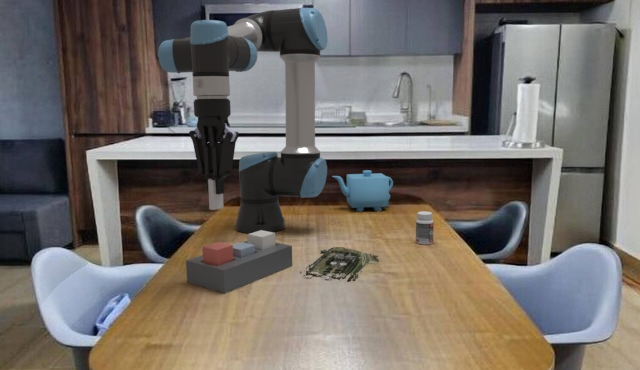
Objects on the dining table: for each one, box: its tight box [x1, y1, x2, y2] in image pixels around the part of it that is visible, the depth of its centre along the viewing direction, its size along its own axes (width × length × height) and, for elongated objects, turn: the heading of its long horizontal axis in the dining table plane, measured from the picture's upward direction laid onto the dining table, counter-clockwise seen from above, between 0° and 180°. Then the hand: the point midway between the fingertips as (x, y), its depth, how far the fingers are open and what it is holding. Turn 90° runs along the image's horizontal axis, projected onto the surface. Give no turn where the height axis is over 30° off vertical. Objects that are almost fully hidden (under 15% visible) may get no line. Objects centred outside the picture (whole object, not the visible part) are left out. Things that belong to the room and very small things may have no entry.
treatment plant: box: [297, 246, 380, 282], centre depth 129 cm, size 25×18×4 cm
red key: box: [202, 241, 233, 266], centre depth 117 cm, size 5×5×4 cm
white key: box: [247, 230, 277, 250], centre depth 128 cm, size 5×5×4 cm
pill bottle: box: [415, 211, 435, 246], centre depth 146 cm, size 5×5×8 cm
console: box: [185, 240, 293, 294], centre depth 123 cm, size 12×22×5 cm, turn 143°
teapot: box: [331, 169, 394, 213], centre depth 190 cm, size 22×11×14 cm, turn 96°
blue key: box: [232, 241, 255, 258], centre depth 123 cm, size 5×5×4 cm
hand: (216, 208), depth 115 cm, fingers closed
